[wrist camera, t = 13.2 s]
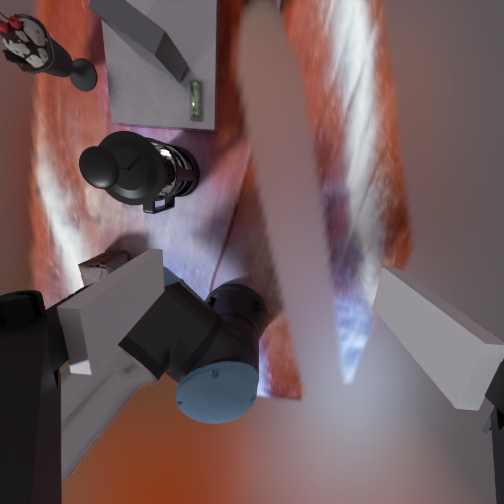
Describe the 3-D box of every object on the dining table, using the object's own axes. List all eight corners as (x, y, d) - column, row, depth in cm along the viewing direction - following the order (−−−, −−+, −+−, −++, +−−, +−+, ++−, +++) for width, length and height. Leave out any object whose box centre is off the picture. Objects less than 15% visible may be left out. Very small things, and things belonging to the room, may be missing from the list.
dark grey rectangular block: (187, 64, 37) (165, 30, 29) (178, 82, 38) (154, 55, 30) (110, 6, 35) (61, -48, 27) (103, 27, 36) (53, -20, 28)
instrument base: (217, 132, 43) (212, 127, 39) (121, 126, 44) (105, 120, 39) (220, -7, 37) (214, -33, 33) (109, -13, 38) (87, -39, 33)
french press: (152, 139, 44) (43, 102, 22) (201, 145, 44) (140, 114, 22) (152, 202, 48) (59, 223, 26) (198, 208, 48) (143, 234, 26)
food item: (144, 304, 55) (119, 330, 46) (111, 305, 56) (81, 331, 47) (131, 249, 51) (102, 265, 42) (96, 251, 52) (60, 267, 42)
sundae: (93, 48, 40) (-1, -24, 26) (107, 92, 42) (27, 49, 28) (58, 57, 41) (-52, -8, 27) (73, 100, 43) (-22, 62, 28)
